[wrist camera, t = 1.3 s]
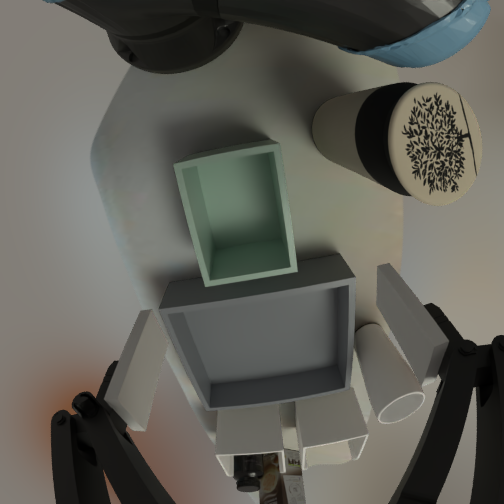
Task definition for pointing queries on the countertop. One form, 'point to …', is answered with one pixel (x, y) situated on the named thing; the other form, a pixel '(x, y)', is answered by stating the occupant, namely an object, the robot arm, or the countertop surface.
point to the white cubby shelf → (307, 428)
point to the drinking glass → (386, 376)
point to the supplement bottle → (248, 472)
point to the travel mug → (404, 139)
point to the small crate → (238, 212)
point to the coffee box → (282, 480)
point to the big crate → (266, 335)
